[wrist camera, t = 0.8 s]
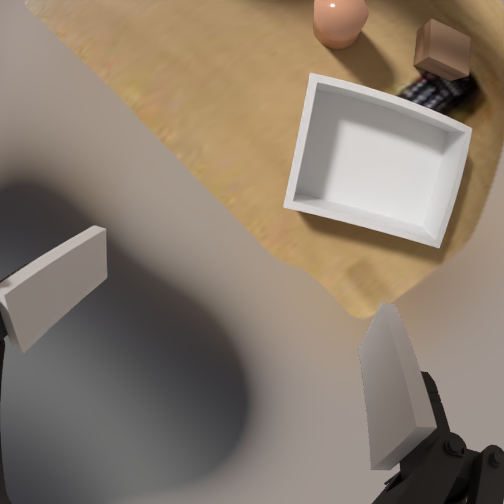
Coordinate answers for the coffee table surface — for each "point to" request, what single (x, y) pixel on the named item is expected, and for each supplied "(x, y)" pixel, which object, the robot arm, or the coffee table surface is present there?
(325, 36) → the round-ended peach cylinder
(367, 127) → the tote
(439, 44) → the walnut cube
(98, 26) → the coffee table surface
